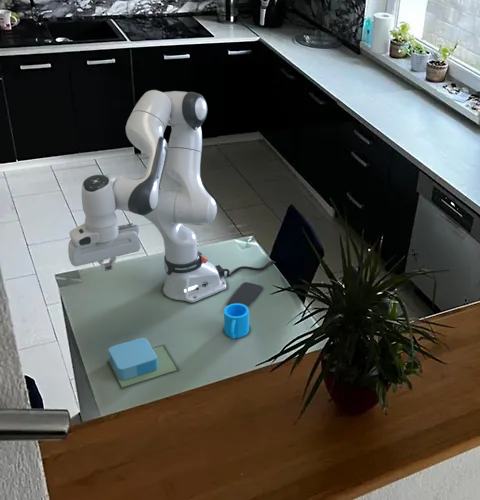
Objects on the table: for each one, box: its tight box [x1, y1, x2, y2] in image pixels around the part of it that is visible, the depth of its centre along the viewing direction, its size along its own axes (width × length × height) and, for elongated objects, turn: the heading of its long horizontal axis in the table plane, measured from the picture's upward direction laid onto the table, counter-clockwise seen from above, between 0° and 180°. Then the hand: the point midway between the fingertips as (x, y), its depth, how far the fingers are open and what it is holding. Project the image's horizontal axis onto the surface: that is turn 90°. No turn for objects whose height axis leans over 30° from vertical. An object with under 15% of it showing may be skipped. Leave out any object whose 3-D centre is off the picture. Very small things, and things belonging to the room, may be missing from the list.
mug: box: [223, 303, 250, 340], centre depth 230 cm, size 12×8×8 cm
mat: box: [108, 345, 178, 389], centre depth 215 cm, size 17×13×1 cm
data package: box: [108, 337, 158, 380], centre depth 214 cm, size 12×4×12 cm
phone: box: [227, 281, 263, 308], centre depth 250 cm, size 7×1×15 cm
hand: (107, 269), depth 208 cm, fingers closed
